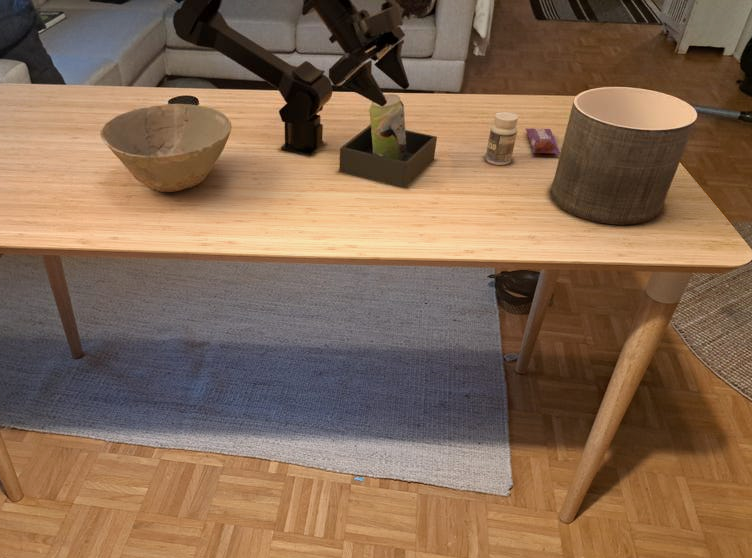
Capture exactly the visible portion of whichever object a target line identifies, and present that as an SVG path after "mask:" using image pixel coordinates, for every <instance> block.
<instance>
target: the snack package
mask: <svg viewBox="0 0 752 558" xmlns="http://www.w3.org/2000/svg"><path fill="white" fill-rule="evenodd" d="M525 131H526V134H527V137H528V140H529V143H530V146H531V149H532V153H534V154H552V155H555V154H557V155H560V153H561V150H559V147H558V144H557V141H556V139H555V137H554V134H553V131H552V129H550V128H536V127H535V128H534V127H531V128H529V127H528V128H525Z"/></svg>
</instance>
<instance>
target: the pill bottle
mask: <svg viewBox="0 0 752 558" xmlns="http://www.w3.org/2000/svg"><path fill="white" fill-rule="evenodd" d="M518 121H519V116H518V115H517V113H516V114H515V113H513V112H510V111H509V112H508V111H499V112H497V113H495V115H494V119H493V124H492V125H491V127H490V131H489V136H488V141H487V147H486V151H485V161H487V162H488V163H490V164H492V165H497V166H498V165H499V166H502V165H504V166H505V165H508V164H510V163H511V161H512V158H513V153H514V148H515V143H516V138H517V135H518V127H517V124H518Z"/></svg>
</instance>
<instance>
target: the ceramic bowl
mask: <svg viewBox="0 0 752 558" xmlns="http://www.w3.org/2000/svg"><path fill="white" fill-rule="evenodd" d="M231 133H232V122H231V121H230V119H229V118H228V117H227V116H226V115H225V114H224V113H223V112H221V111H220V110H218V109H214V108H212V107H209V106H203V105H198V104H190V103H167V104H161V105H152V106H149V107H142V108H136V109H133V110H130V111H126V112H124V113H121V114H118V115H116V116H115V117H114V118H112V119H110V120H109V121H108V122H106V123H105V124H104V125H103V127H102V129H101V130H100V135H99V136H100V138H101V140H102V141H103V143H104V144H105V145H106V146H107V147H108V149H109V150H110V151H111V152H112V153H113V154H114V155H115V156H116V157H117V159H118V160H119V161H120V162H121V163H122V165H124V167H125V168H126V169H127V170H128V171H129V173H130V174H131V175H132V176H133V177H134V178H135V180H137V181H138V182H139V183H141V184H142V185H143V186H145V187H147V188H149V189H151V190H154V191H158V192H163V193H171V192H172V193H173V192H178V191H182V190H185V189H190V188H192V187H195V186H197V185H199V184H200V183H201V182H202V181H204V180H205V179H206V177H207V176H208V174H210V172H211V171H212V170H213V168H214V167H215V165H216V163H217V162H218V160H219V158H220V156H221V155H222V153H223V151H224V148H225V147H226V145H227V142H228V140H229V138H230V135H231Z"/></svg>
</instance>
